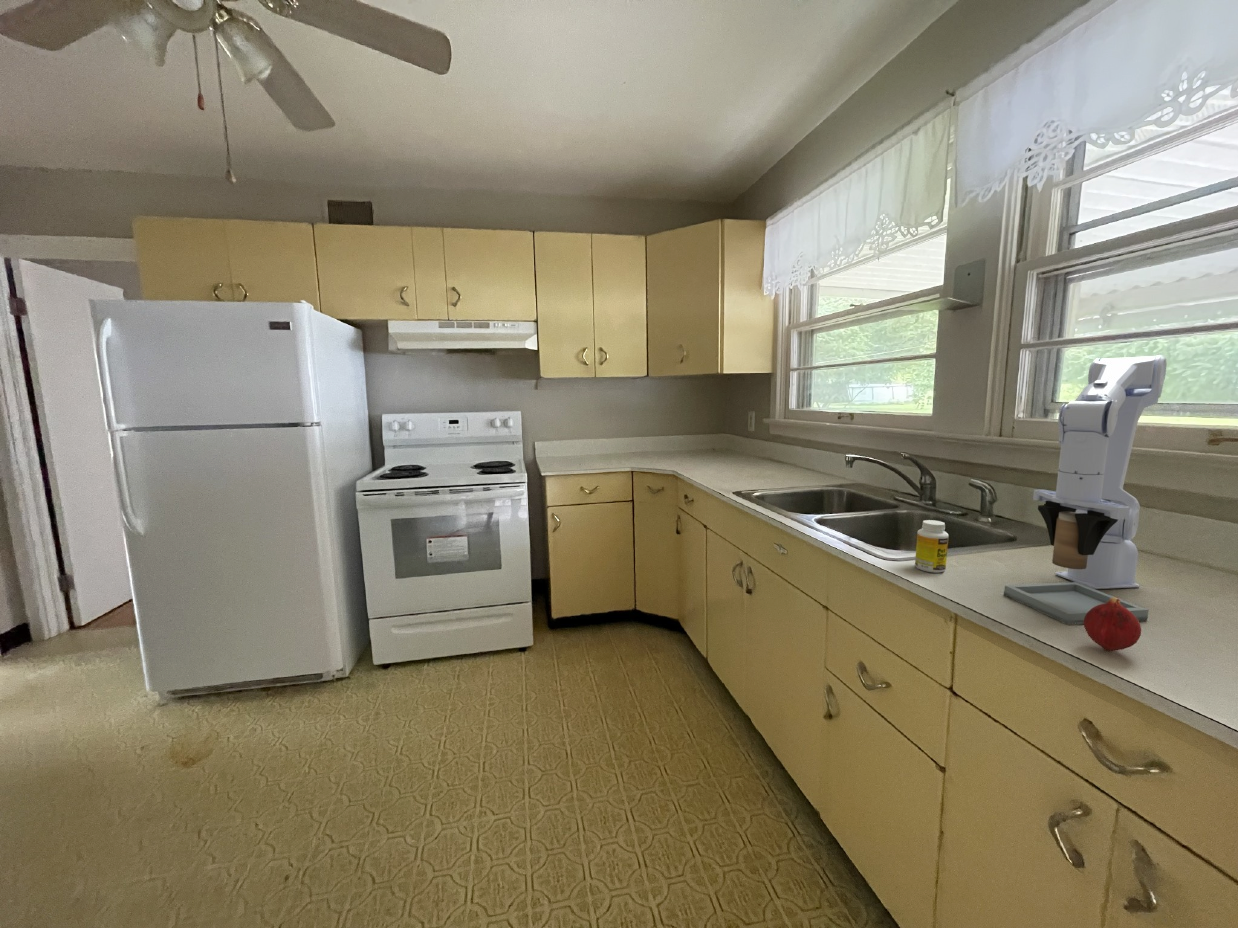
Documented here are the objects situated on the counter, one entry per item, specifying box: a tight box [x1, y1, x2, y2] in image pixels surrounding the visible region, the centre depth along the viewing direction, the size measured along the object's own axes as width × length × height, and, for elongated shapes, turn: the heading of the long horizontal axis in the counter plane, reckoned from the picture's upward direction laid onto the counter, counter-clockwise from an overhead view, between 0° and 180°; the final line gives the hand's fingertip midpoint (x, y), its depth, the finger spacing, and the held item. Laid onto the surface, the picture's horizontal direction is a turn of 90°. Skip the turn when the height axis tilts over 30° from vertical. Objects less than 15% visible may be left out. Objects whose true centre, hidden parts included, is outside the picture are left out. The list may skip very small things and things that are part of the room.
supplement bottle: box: [914, 519, 950, 574], centre depth 104 cm, size 6×6×10 cm
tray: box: [1003, 581, 1150, 625], centre depth 85 cm, size 14×12×2 cm
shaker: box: [1051, 512, 1088, 569], centre depth 85 cm, size 4×4×9 cm
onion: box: [1083, 596, 1142, 652], centre depth 70 cm, size 6×6×8 cm
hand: (1071, 549), depth 85 cm, fingers closed on shaker, 4 cm apart
